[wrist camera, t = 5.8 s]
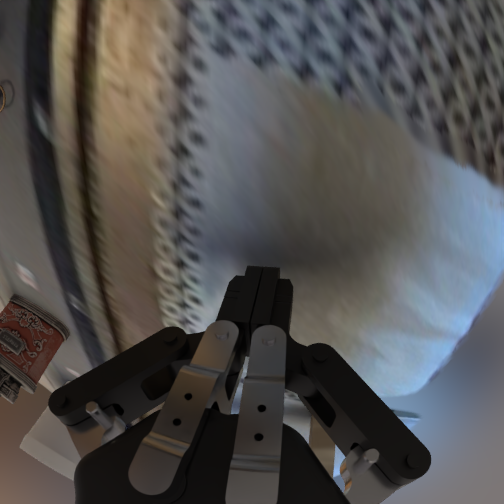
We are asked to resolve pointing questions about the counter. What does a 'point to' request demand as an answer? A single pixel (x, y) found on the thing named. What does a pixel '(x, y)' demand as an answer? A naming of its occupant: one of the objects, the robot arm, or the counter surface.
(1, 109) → the compass
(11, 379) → the lighter
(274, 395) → the robot arm
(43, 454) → the foam cup
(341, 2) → the counter surface
